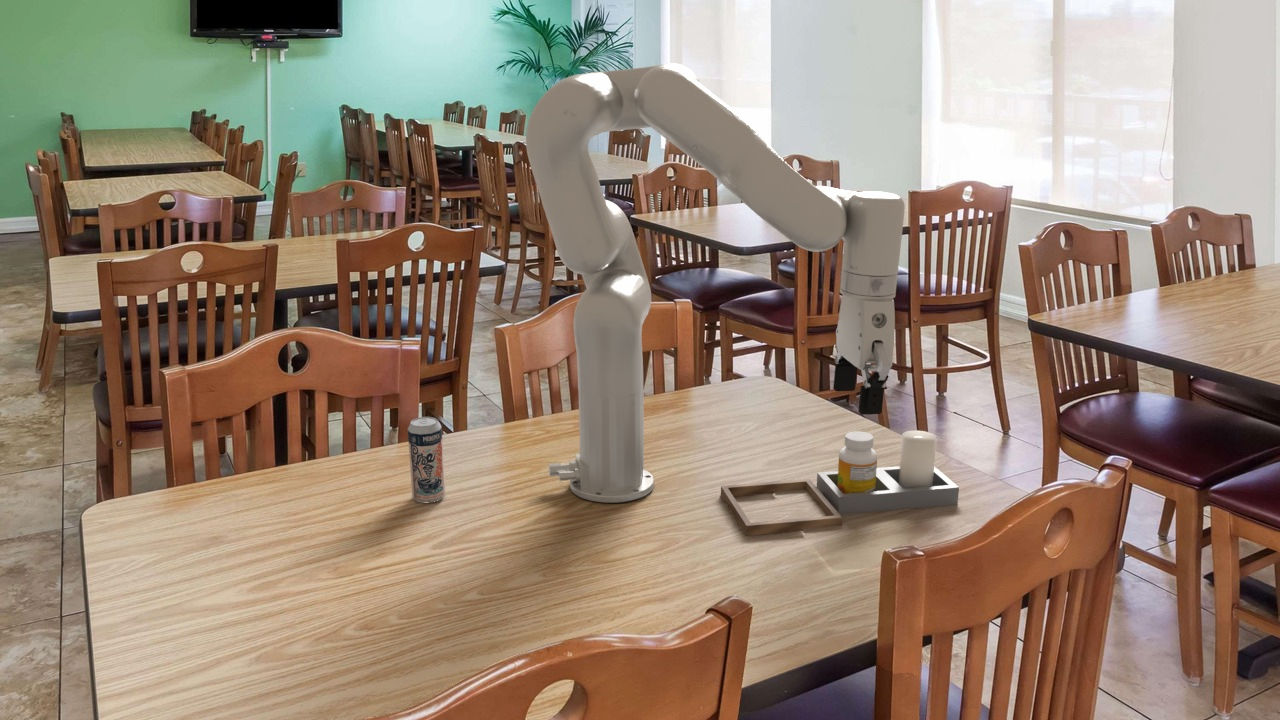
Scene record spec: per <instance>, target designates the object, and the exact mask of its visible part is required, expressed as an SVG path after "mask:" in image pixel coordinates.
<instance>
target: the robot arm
mask: <svg viewBox="0 0 1280 720" xmlns="http://www.w3.org/2000/svg"><path fill="white" fill-rule="evenodd" d="M646 128H651V129H653V130H654V131H655V132H656V133H658V134H659V135H660V136H662V137H663V138H664V139H666V140H667V141H668V142H669V143H671V144H672V145H674V146H675V147H676V148H677V149H679V150H680V151H682V153H684V154H685V155H687V156H688V157H689V158H690V159H692V160H693V161H694V162H695V163H697V164H698V165H699V166H700V167H702V168H703V169H705V170H706V171H707V172H708V173H710V174H711V175H712V176H713V178H714V177H715V178H716V179H717V180H718V182H720V183H721V184H722V186H723V187H724V188H726V189H727V191H729V192H730V193H732V194H733V195H734V196H736V197H737V199H738V200H739V199H740V201H741V202H743V204H745V205H746V206H747V207H748V208H749V209H750V210H751V211H753V212H754V213H755V214H756V216H759V218H761V219H762V220H763V221H765V222H766V223H767V224H768V225H769V226H770V227H772V228H773V229H774V230H776V231H777V232H779V233H780V234H781V235H782V236H784V237H785V238H786V239H788V240H789V241H790V242H791V243H793V244H795V245H796V246H797V247H799V248H800V249H803V250H806V251H809V252H815V253H816V252H818V253H819V252H820V253H821V252H825V251H828V250H830V249H832V248H834V247H835V246H836V245H838V244H839V243H840V241H841V240H843V251H842V252H843V253H842V264H841V272H840V273H841V274H840V284H839V285H840V286H839V293H840V294H841V295H842V296H841V300H840V306H839V311H838V321H837V328H836V329H835V335H836V336H835V337H836V340H835V341H836V342H835V345H834V346H835V347H834V348H835V349H836V354H835V356H834V362H835V364H834V365H835V366H834V374H833V377H834V378H833V387H832V389H833V390H834V391H835V392H853V391H855V390H856V388H857V387H856V385H857V377H858V375H857V374H858V370H861V375H862V382H863V385H861V386H860V391H859V399H858V401H859V402H858V414H860V415H862V416H863V415H864V416H865V415H881V414H882V412H883V403H884V395H885V388H886V386H887V381H888V379H889V373H890V371H891V370H890V369H891V368H892V367H893V361H894V349H895V348H894V347H895V331H896V329H895V326H896V323H895V322H896V316H895V312H896V311H895V300H894V299H895V298H896V293H897V284H898V275H899V264H900V257H901V247H902V238H903V237H902V236H903V230H904V229H903V228H904V219H905V210H906V209H905V208H906V207H905V206H906V204H905V201H904V199H903V198H902V197H901V196H900V195H898V194H895V193H892V192H885V191H878V190H877V191H875V190H874V191H872V190H871V191H870V190H868V191H866V190H863V191H859V192H858V191H853V190H852V191H851V190H846V189H845V190H844V189H839V188H835V187H831V186H826V185H814V184H813V183H811V182H810V181H809V180H808V179H806V178H805V177H804V176H803V175H801V174H800V172H798V171H797V170H795V169H794V168H793V167H792V166H791V165H789V164H788V162H787V161H785V160H784V159H783V158H782V157H781V156H780V155H779V154H778V153H777V151H775V149H774V148H773V147H772V146H771V145H770V143H769V141H768V140H767V139H766V137H765V136H764V134H763V133H762V132H761V131H760V130H759V129H758V128H757V127H756V126H755V125H754V124H752V122H751V121H749V120H747V119H746V118H745V117H744V116H742V115H741V114H740V113H738V112H737V111H735V110H734V109H733V108H732V107H730V106H729V105H728V104H726V103H725V102H724V101H723V100H722V99H720V98H719V97H717V96H716V95H715V94H714V93H712V91H710V90H709V89H708V88H706V87H705V86H704V85H703V84H701V83H700V80H699V79H698V77H697V75H696V74H695V73H694V72H693V70H691V69H690V68H688V67H686V66H685V65H683V64H679V63H674V62H673V63H672V62H671V63H669V62H668V63H663V64H658V65H651V66H645V67H637V68H626V69H616V70H605V71H604V70H603V71H594V72H593V71H592V72H587V73H586V72H585V73H580V74H579V73H577V74H573V75H570V76H568V77H565V78H563V79H561V80H559V81H558V82H556V83H555V84H554V85H552V87H550V88H549V89H548V90H547V91H546V92H545V93H544V94H543V95H542V96H541V97H540V99H539V100H538V101H537V103H536V104H535V106H534V108H533V109H532V111H531V113H530V115H529V118H528V121H527V126H526V132H525V146H526V147H525V148H526V154H527V158H528V162H529V165H530V169H531V172H532V175H533V177H534V181H535V183H536V186H537V190H538V194H539V198H540V201H541V204H542V208H543V210H544V213H545V217H546V220H547V222H548V225H549V228H550V229H549V230H550V233H551V234H552V238H553V242H554V245H555V248H556V251H557V255H558V257H559V258H560V260H561V262H562V264H563V265H564V266H565V267H566V268H567V269H568V270H569V271H571V272H573V273H576V274H578V275H581V276H582V279H583V282H584V285H585V290H584V291H583V292H582V294H581V296H580V297H579V298H578V301H577V303H576V306H575V309H574V312H573V313H574V314H573V336H574V342H575V344H574V345H575V349H576V362H577V363H576V364H577V390H578V423H579V424H578V425H579V429H578V431H579V433H578V434H579V453H576V454H575V459H571V460H569V462H564V463H563V462H562V463H561V462H554V463H548V474H549V475H548V476H549V477H558V480H559V481H560V482H562V481H569V489H570V491H571V492H572V493H573V494H575V495H576V496H577V497H579V498H581V499H584V500H587V501H591V502H596V503H605V504H606V503H607V504H608V503H611V504H615V503H625V502H630V501H635V500H638V499H641V498H643V497H645V496H647V495H648V494H649V493H651V492H653V490H654V487H655V478H654V475H653V474H652V473H650V472H649V471H648V470H646V469H645V467H644V465H645V464H644V461H645V458H644V455H645V454H644V452H645V451H644V450H645V449H644V445H645V444H644V443H645V441H644V440H645V439H644V438H645V437H644V433H645V432H644V426H645V425H644V424H645V423H644V422H645V421H644V415H645V414H644V407H645V404H644V402H645V401H644V400H645V399H644V398H645V397H644V363H643V362H644V361H643V345H642V344H643V343H642V330H643V324H644V322H645V321H646V320H645V319H646V318H647V316H648V315H649V313H650V310H651V305H652V298H653V297H652V291H651V286H650V283H649V278H648V275H647V272H646V269H645V266H644V262H643V260H642V256H641V254H640V250H639V246H638V243H637V240H636V238H635V237H636V236H635V234H634V232H633V231H634V230H633V228H632V225H631V223H630V221H629V219H628V216H627V215H626V213H625V212H624V211H623V210H622V208H621V207H619V206H618V204H616V203H614V202H613V201H611V200H608V199H605V197H604V194H603V190H602V187H601V183H600V180H599V176H598V175H599V174H598V173H597V170H596V167H595V165H594V163H593V160H592V159H591V155H590V154H589V153H590V152H589V142H590V140H591V139H592V138H594V137H595V136H598V135H600V134H602V133H607V132H616V131H624V130H625V131H626V130H639V129H646ZM870 372H873V373H872V375H870Z"/></svg>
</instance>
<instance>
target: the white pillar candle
mask: <svg viewBox="0 0 1280 720" xmlns="http://www.w3.org/2000/svg"><path fill="white" fill-rule="evenodd" d="M936 447H937V436H936V434H934V433H932V432H929V431H925V430H907V431H905V432H903V433H902V434H901V447H900V462H899V463H900V464H899V466H900V472H899V485H900V486H901V487H902V488H903V489H908V488H920V487H932V486H933V474H934V466H935V460H936Z"/></svg>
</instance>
